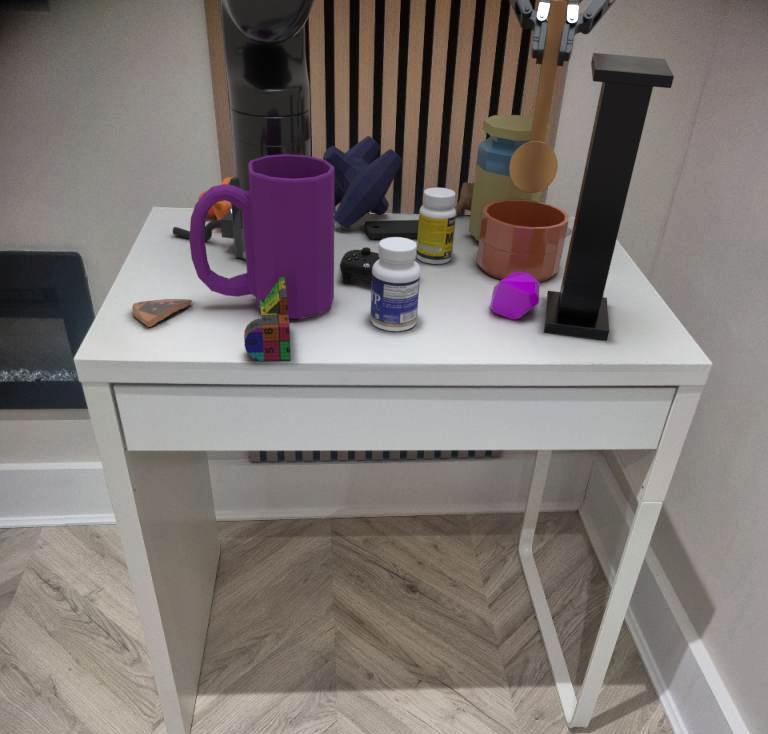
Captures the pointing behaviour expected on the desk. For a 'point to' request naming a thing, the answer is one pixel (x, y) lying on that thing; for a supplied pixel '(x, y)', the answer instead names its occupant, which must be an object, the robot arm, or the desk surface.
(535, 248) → the bowl
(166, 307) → the pottery shard
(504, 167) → the jar
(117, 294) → the desk surface
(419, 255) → the supplement bottle
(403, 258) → the pill bottle
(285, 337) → the puzzle-patterned holder
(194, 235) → the mug
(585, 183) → the shelf stand
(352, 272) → the game controller
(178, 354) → the desk surface
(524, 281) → the crystal
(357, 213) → the tetrapod
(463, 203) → the brown paper bag
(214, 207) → the orange fox figurine
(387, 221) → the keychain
